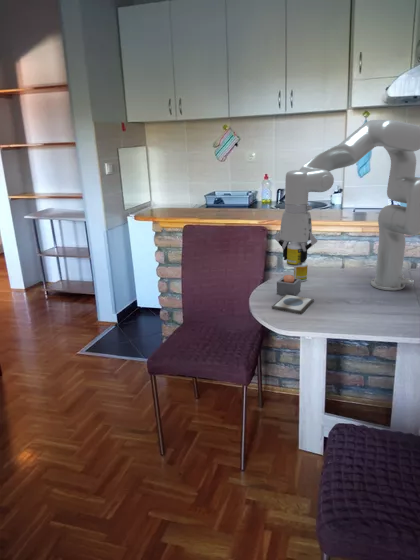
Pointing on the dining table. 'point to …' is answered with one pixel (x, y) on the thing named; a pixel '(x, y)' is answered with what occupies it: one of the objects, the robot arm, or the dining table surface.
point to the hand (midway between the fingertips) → (294, 259)
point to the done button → (289, 278)
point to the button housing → (288, 287)
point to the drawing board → (293, 304)
